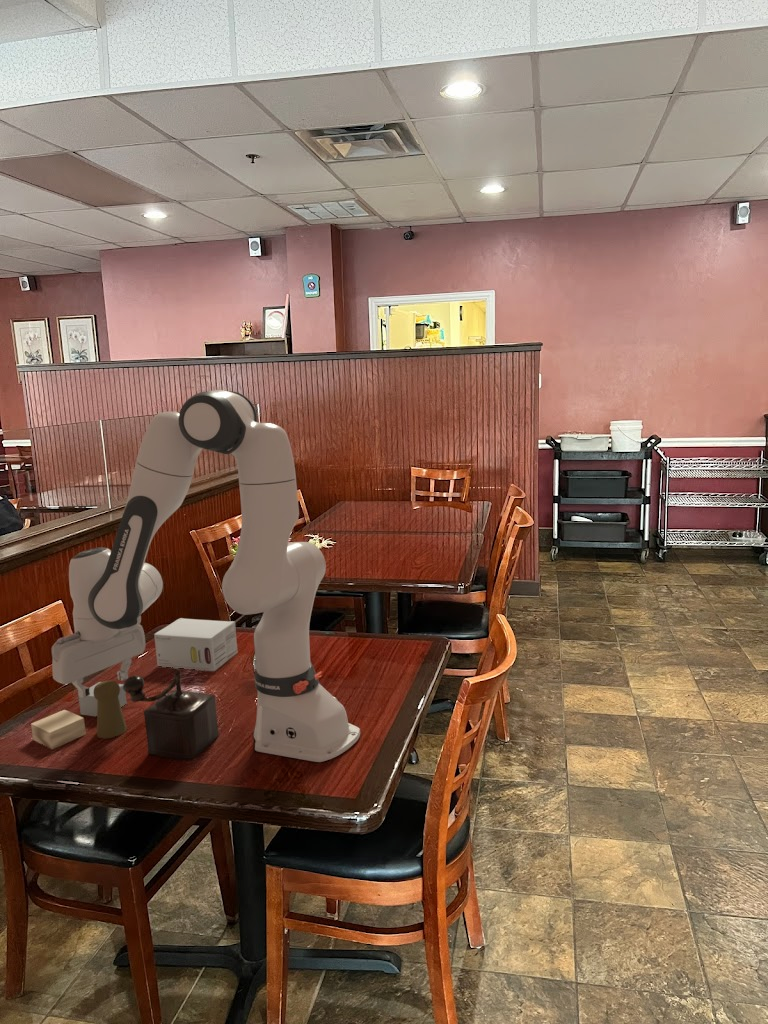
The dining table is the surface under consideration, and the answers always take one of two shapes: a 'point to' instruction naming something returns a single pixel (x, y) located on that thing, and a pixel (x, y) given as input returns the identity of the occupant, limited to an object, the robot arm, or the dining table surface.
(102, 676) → the dining table surface
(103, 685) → the cork
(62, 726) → the maple block
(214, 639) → the supplement box
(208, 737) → the pepper mill
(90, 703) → the grey block
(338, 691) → the dining table surface
